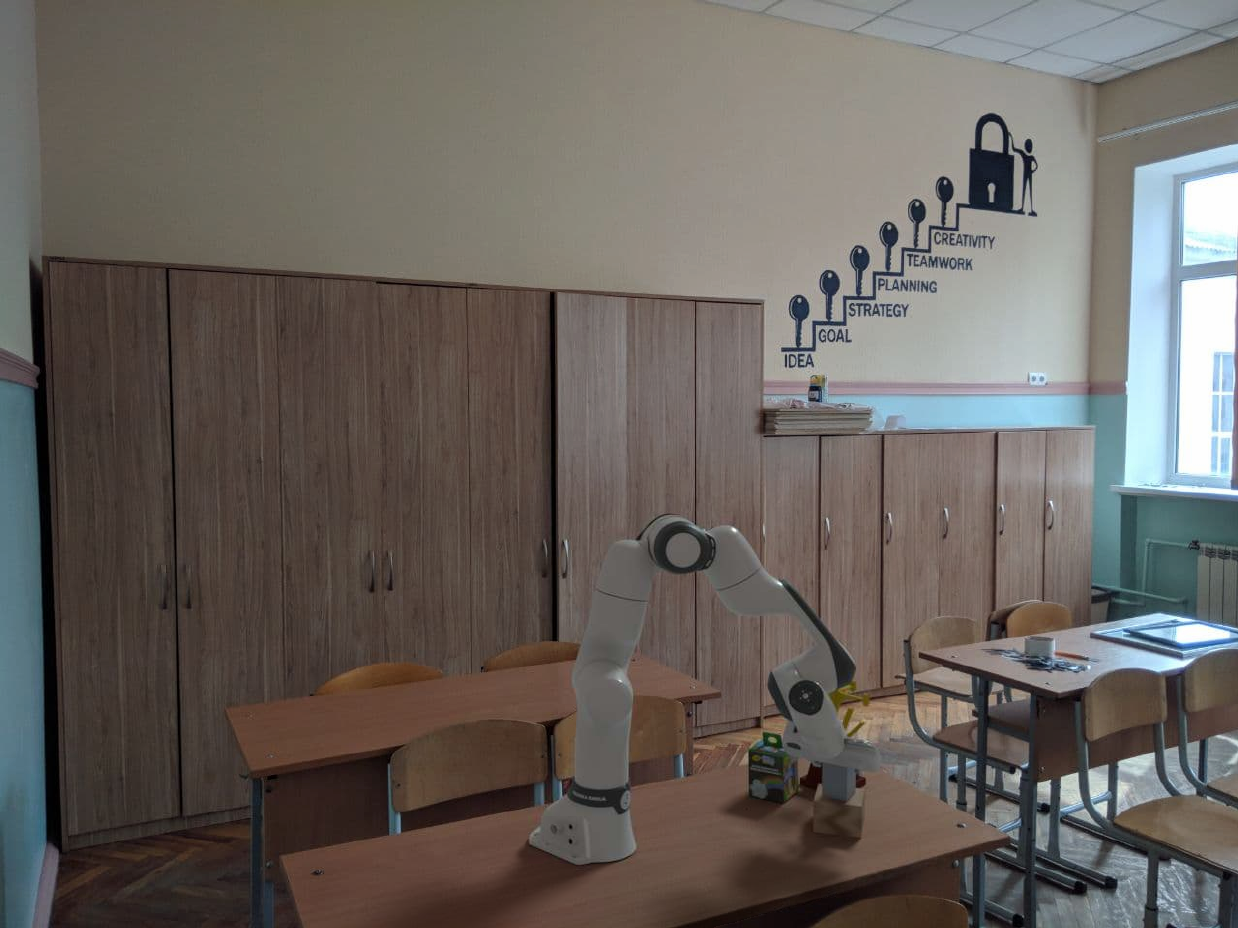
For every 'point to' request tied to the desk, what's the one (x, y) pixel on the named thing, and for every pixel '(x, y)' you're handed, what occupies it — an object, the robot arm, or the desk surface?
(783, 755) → the chalk box
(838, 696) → the trophy
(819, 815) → the walnut box
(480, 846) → the desk surface
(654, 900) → the desk surface
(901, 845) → the desk surface
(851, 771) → the lidded storage box
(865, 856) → the desk surface
